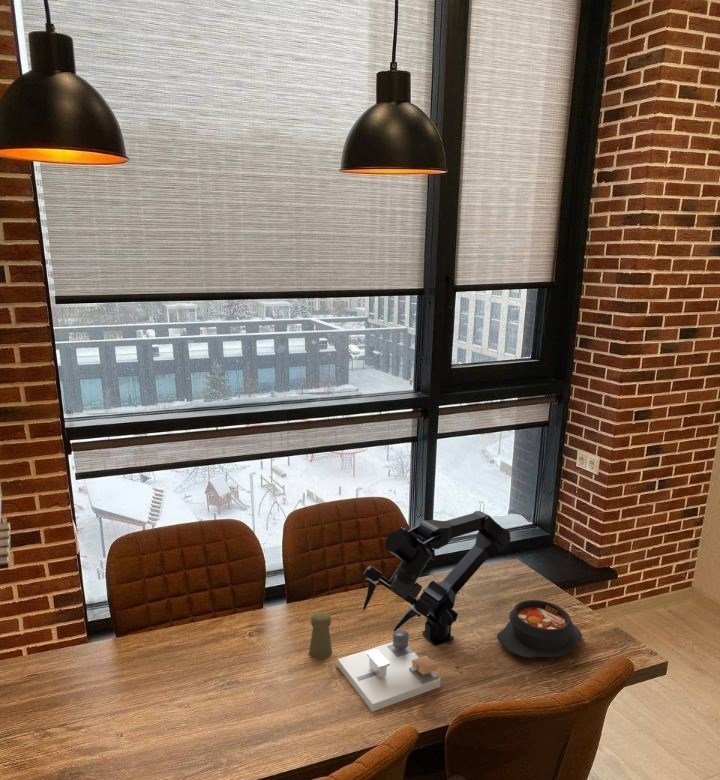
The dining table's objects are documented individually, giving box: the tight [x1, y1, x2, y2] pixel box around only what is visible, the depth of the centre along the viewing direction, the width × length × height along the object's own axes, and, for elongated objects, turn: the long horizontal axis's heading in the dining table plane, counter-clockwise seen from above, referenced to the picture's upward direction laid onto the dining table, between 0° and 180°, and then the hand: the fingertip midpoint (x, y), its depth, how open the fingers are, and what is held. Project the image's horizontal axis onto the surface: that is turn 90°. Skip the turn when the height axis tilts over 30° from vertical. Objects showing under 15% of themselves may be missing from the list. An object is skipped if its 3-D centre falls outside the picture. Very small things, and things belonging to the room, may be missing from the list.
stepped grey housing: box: [367, 650, 390, 678], centre depth 151 cm, size 3×6×4 cm, turn 28°
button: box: [392, 629, 409, 649], centre depth 161 cm, size 4×4×3 cm
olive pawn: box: [308, 611, 333, 661], centre depth 161 cm, size 6×6×11 cm
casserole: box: [496, 599, 583, 659], centre depth 169 cm, size 25×19×8 cm
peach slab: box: [412, 655, 438, 675], centre depth 151 cm, size 4×5×2 cm
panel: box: [337, 641, 442, 713], centre depth 153 cm, size 19×18×3 cm
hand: (378, 620), depth 156 cm, fingers open, 9 cm apart
